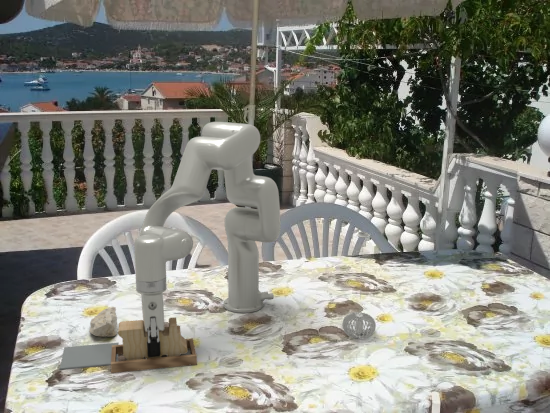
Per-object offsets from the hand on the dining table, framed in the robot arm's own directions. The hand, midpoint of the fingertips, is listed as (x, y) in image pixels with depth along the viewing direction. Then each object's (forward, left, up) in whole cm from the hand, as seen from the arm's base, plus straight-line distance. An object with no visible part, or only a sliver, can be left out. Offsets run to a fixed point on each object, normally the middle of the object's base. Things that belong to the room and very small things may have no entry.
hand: (153, 349), depth 160 cm
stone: (+13, -20, -3) cm, 24 cm away
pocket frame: (0, 0, -3) cm, 3 cm away
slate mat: (+16, -5, -3) cm, 17 cm away
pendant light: (-57, -3, -3) cm, 57 cm away
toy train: (0, 0, -3) cm, 3 cm away
